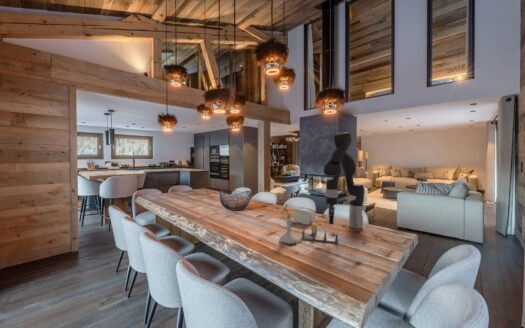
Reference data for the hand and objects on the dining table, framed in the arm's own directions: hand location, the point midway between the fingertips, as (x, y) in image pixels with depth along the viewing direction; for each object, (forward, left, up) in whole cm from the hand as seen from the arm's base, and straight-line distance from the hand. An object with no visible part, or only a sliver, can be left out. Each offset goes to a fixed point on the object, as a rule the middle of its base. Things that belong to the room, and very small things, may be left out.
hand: (331, 222), depth 146 cm
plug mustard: (+11, -11, -12) cm, 20 cm away
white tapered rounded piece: (+26, +10, -12) cm, 30 cm away
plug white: (0, 0, -1) cm, 1 cm away
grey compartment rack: (+7, 0, -12) cm, 14 cm away
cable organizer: (+20, -36, -12) cm, 43 cm away
